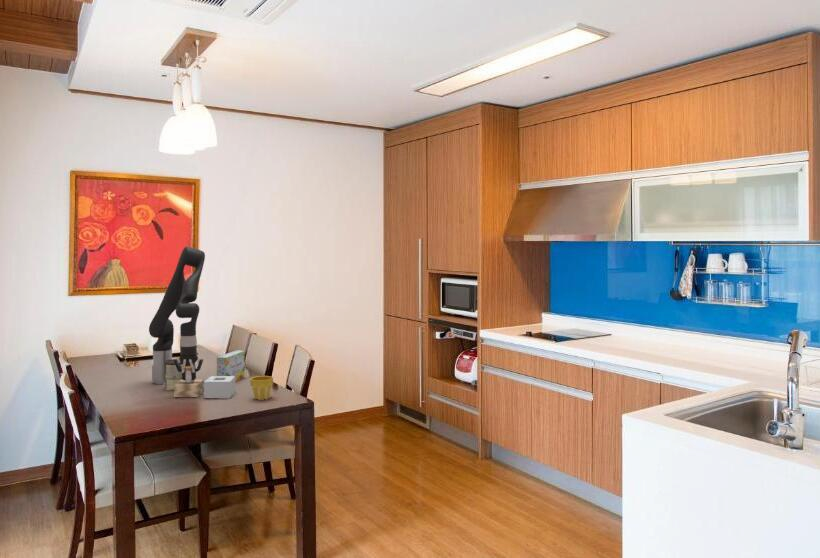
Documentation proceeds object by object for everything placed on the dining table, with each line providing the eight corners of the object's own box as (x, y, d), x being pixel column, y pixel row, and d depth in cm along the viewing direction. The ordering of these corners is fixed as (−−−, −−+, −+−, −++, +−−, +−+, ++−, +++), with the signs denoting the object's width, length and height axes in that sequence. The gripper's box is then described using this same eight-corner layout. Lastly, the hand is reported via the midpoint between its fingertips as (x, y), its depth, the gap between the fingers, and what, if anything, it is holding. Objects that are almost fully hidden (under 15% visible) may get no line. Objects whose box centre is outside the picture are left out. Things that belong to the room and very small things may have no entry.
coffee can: (162, 388, 310) (161, 360, 309) (181, 385, 317) (181, 358, 316) (170, 392, 302) (170, 363, 302) (190, 388, 310) (190, 360, 309)
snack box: (226, 386, 314) (225, 357, 313) (216, 386, 315) (215, 356, 315) (245, 377, 335) (245, 350, 334) (235, 377, 336) (235, 349, 335)
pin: (183, 396, 295) (182, 366, 294) (186, 393, 299) (185, 364, 299) (192, 395, 295) (192, 366, 294) (195, 393, 300) (194, 364, 299)
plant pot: (254, 395, 296) (254, 375, 296) (275, 395, 296) (275, 375, 295) (247, 401, 286) (247, 380, 285) (270, 401, 286) (269, 380, 285)
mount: (174, 397, 292) (173, 385, 291) (181, 392, 303) (180, 380, 302) (197, 397, 292) (197, 384, 292) (204, 391, 303) (203, 379, 303)
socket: (204, 398, 290) (203, 381, 290) (210, 392, 302) (210, 376, 302) (230, 398, 291) (229, 381, 290) (235, 392, 303) (235, 375, 302)
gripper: (170, 346, 292) (171, 382, 293) (201, 345, 293) (202, 381, 294) (175, 343, 299) (176, 378, 300) (205, 343, 300) (206, 378, 301)
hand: (189, 379), depth 297 cm, fingers closed on pin, 3 cm apart
